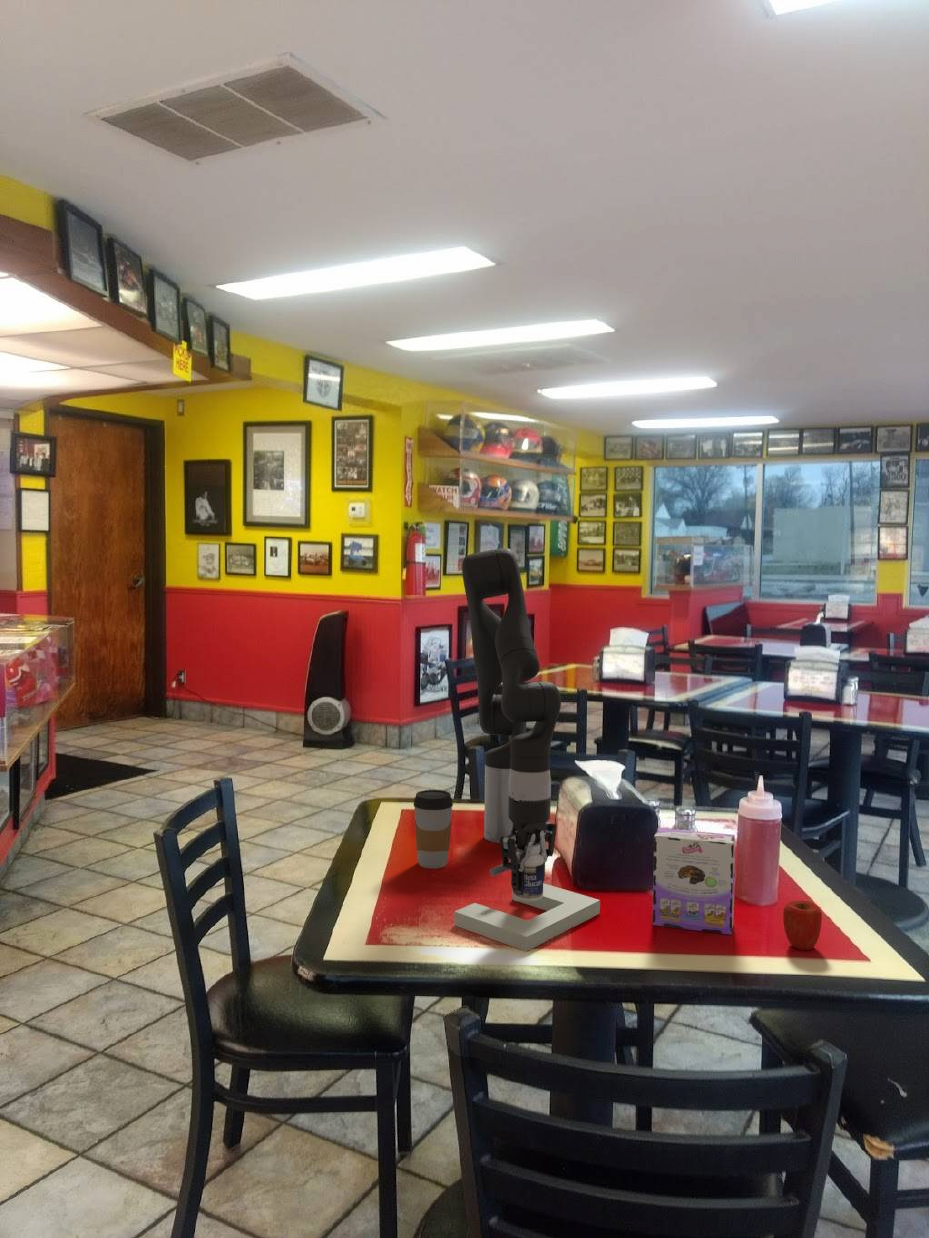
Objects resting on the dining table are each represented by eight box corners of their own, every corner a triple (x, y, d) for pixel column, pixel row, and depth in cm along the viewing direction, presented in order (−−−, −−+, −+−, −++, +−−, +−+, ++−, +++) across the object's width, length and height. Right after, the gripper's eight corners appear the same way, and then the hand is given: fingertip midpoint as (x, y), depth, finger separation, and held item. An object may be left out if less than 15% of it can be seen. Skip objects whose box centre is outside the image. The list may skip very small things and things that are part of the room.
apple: (789, 935, 162) (791, 893, 161) (826, 945, 158) (827, 902, 157) (776, 947, 157) (777, 903, 156) (813, 957, 153) (814, 913, 152)
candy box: (733, 923, 167) (736, 833, 165) (731, 936, 161) (734, 843, 160) (655, 913, 171) (657, 825, 170) (651, 925, 166) (653, 834, 164)
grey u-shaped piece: (530, 891, 181) (530, 846, 181) (599, 913, 171) (600, 865, 170) (454, 925, 165) (454, 875, 164) (526, 951, 154) (527, 898, 154)
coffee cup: (451, 870, 193) (452, 799, 192) (411, 870, 193) (411, 799, 192) (453, 857, 201) (453, 789, 200) (414, 857, 201) (414, 788, 200)
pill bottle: (522, 904, 164) (523, 849, 163) (507, 894, 169) (508, 841, 168) (548, 899, 166) (549, 845, 166) (533, 889, 171) (533, 837, 170)
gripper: (537, 782, 174) (535, 871, 175) (487, 797, 163) (486, 891, 164) (570, 789, 169) (568, 880, 170) (521, 805, 158) (520, 902, 160)
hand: (528, 885), depth 167 cm, fingers closed on pill bottle, 5 cm apart
